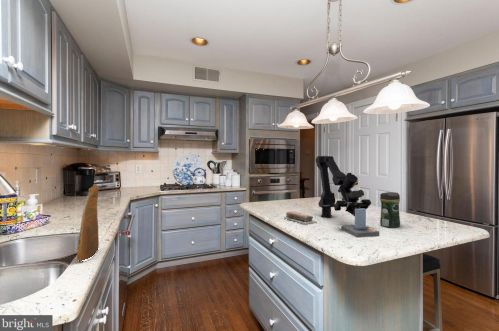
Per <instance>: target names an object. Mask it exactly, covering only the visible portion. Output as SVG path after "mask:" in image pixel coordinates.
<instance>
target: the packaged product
mask: <svg viewBox="0 0 499 331" xmlns="http://www.w3.org/2000/svg"><path fill="white" fill-rule="evenodd" d="M285 214H286V216H284V218H283V219H284V220H285V219H287V220H286V221H288V220H290V221H289V222H292V221H293V222H292V223H295V222H297V223H296V224H299V223H300V224H299V225H302V224H303V226H308V224H309V225H313V224H317V223H318V221H317V220H313V219H314V217H313V216H312V215H308V214H305V213H301V212H298V211H287V212H286V213H285Z"/></svg>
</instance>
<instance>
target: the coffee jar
mask: <svg viewBox="0 0 499 331" xmlns="http://www.w3.org/2000/svg"><path fill="white" fill-rule="evenodd" d="M379 196H380V198H379V200H380V207H381V208H380V221H379V222H380V223H379V224H380V225H381V226H382V227H384V228H391V229H392V228H398V227H400V226H401V218H400V217H401V216H400V201H401V197H400V193H399V192H394V191H388V192H381V193H380V195H379Z"/></svg>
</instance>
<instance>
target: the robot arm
mask: <svg viewBox="0 0 499 331" xmlns="http://www.w3.org/2000/svg"><path fill="white" fill-rule="evenodd" d="M315 163H316V167H317V168H318V169H319V171H320V180H321V188H322V189H321V190H322V192H321V195H320V199H319V201H318V207H319V208H321V215H320V218H329V219H330V218H332V217H333V214H332V208H333V209H334V211H336V212H337V211H339V212H340V211H341V210H342V208H345V212H347V213H349V214H351V216H353V217H355V209H363V208H364V209H366V210H368V208H369V207H370V206H371V204H372V202H371V200H370V199H369V198H367V199H365V198H363V199H361V200H360V198H362V197H363V196H365V192H364V191H363V189H359V190H352V189H353V188H354V187H355V185H356V183H358V181H359V179H358V176H356V175H355V174H352V172H347V173H346V174H345V173H344V172H343V171H341V170H340V168H339V166H338V165H337V162H336V161H335V158H334V156H333V155H318V156H316V158H315ZM329 171H330V174H331V175H332V183H333V185H334V186H339V187H338V189H337V193H340V195H341V197H342V198H341V200H337V201H336V198H335V193H334V192H333V191H331V183H330V176H329ZM359 200H360V201H359Z"/></svg>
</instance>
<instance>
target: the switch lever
mask: <svg viewBox="0 0 499 331" xmlns="http://www.w3.org/2000/svg"><path fill="white" fill-rule="evenodd" d="M366 220H367V209H364V208H363V209H355V216H354V224H352V225H353V228H355V229H357V230H358V229H368V227H369V226H368V225H367V221H366Z"/></svg>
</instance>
